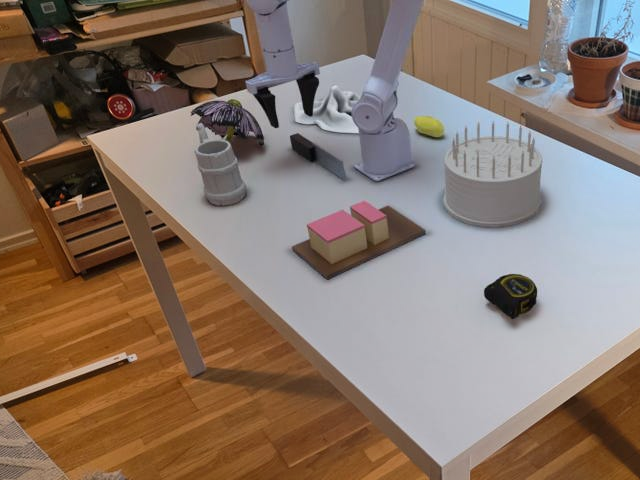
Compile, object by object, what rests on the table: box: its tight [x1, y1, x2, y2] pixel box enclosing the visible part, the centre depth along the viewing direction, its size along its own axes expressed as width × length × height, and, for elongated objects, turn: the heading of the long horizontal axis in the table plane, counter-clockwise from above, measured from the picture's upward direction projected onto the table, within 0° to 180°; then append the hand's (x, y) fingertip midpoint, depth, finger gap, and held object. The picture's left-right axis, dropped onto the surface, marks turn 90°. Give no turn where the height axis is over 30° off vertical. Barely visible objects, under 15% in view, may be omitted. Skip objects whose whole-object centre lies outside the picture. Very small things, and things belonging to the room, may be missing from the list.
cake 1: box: [306, 209, 367, 264], centre depth 107 cm, size 7×6×4 cm
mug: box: [194, 123, 247, 207], centre depth 120 cm, size 8×12×12 cm, turn 33°
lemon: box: [413, 115, 445, 138], centre depth 139 cm, size 4×8×4 cm, turn 45°
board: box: [291, 205, 426, 280], centre depth 110 cm, size 20×11×1 cm, turn 130°
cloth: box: [293, 85, 361, 135], centre depth 147 cm, size 22×19×6 cm
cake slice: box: [349, 200, 389, 245], centre depth 109 cm, size 3×6×4 cm, turn 40°
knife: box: [289, 132, 347, 181], centre depth 131 cm, size 2×19×4 cm, turn 40°
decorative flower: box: [190, 98, 265, 151], centre depth 134 cm, size 15×12×15 cm
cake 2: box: [442, 120, 543, 228], centre depth 115 cm, size 18×18×13 cm
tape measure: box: [483, 273, 538, 320], centre depth 96 cm, size 7×7×4 cm
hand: (292, 120), depth 127 cm, fingers open, 7 cm apart
